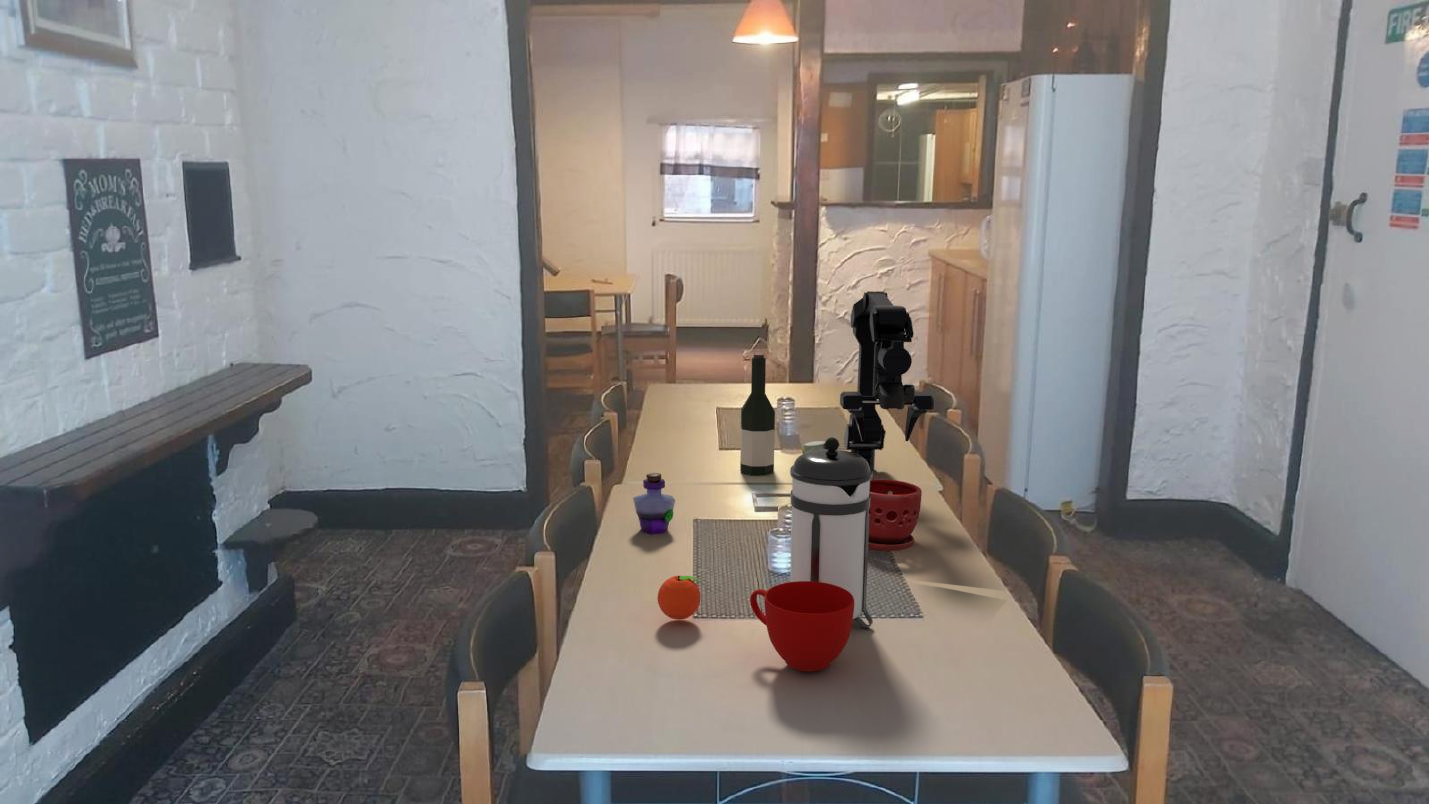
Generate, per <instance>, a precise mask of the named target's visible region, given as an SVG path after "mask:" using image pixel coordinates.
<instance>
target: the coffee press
mask: <svg viewBox="0 0 1429 804" xmlns="http://www.w3.org/2000/svg"><path fill="white" fill-rule="evenodd" d="M824 445H825V447H826V449H823V450H814V451H810V452H807V453H804V454H801V455H799V456H798V457H796V459H795V461H794V463H793V465H791V467H790V468H789V469H790V470H789V474H790V477H791V478H792V482H791V483H792V484H791V485H792V487H791V491H790V493H791V496H790V506H792V510H791V519H790V521H791V522H790V524H791V525H790V528H791V529H790V531H791V532H790V565H789V567H790V571H789V573H790V574H789V576H790V577H789V582H796V581H813V582H822V583H828V584H832V585H836V586H839V587H841V588H843V589H845V590H847V591H848V592H850V593H851V594H852V595H853V598H854V613H853V621H856V622H857V623H858V624H859V625H860V626H861V627H862V628H863V629H865V630H866V629H870V627H871V626H872V625H873V623H874V621H873V618H872V617H871V615H870V613H869V612H868V608H867V592H868V591H867V589H868V588H867V587H868V563H869V562H868V560H869V558H868V557H869V548H868V537H869V508H870V501H871V494H870V492H869V488H870V480H871V479H873V477H874V475H873V472H874V471H872V470H871V469H870V468H869V464H868V462H867V461H866V460H865V459H864V458H863V457H861V456H860V455H858V454H855V453H852V452H851V451H849V450H842V449H839V446H840V442H839V440H838V439H837V438H836V437H833V436H832V437H829V438H827V439H826V440H825V444H824ZM862 613H863V615H864V617H865V619H866V620H867V622H868V624H867V623H866V622H865V621H864V620H863V619H862V618H861V617H860V616H861V615H862Z"/></svg>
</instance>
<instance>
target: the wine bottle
mask: <svg viewBox="0 0 1429 804" xmlns="http://www.w3.org/2000/svg"><path fill="white" fill-rule="evenodd" d="M766 361H767V358H766V357H765V354H764V353H759V352H758V353H753V356H751V379H750V380H751V387H750V390H751V391H750V393H749V396H748V397H747V399H746V401H745V402H744V404H742V407H741V408H740V456H739V457H740V474H742V475H747V476H751V477H756V476H757V477H758V476H759V477H760V476H761V477H764V476H769V475H771V474H774V473H775V435H776V433H775V432H776V431H775V425H776V419H775V418H776V411H775V409H774V408H773V405H772V403H771V402H770V400H769V398H768V396H767V394H766V368H767V367H766V366H767V364H766Z"/></svg>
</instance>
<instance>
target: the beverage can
mask: <svg viewBox="0 0 1429 804" xmlns="http://www.w3.org/2000/svg"><path fill="white" fill-rule="evenodd" d="M825 442H826V440H813V441H808V442H805V443H803V448H802V450H801V451H802V452H801V453H802V454H804V453H807V452H810V451H814V450H823V449H826V447H825V445H824V444H825ZM802 454H801V455H802Z"/></svg>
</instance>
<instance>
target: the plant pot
mask: <svg viewBox="0 0 1429 804" xmlns="http://www.w3.org/2000/svg"><path fill="white" fill-rule="evenodd" d="M869 492H870V494H871V501H870V508H869V537H868V550H869V549H870V550H876V551H887V552H888V551H889V552H890V551H892V552H893V551H900V550H904V549H907V548H910V547H911V546H912V545H913V544H914V542H915V538H914V536H913V535H912V534H913V532H914V530H915V528H916V526H917V523H918V519H919V516H920V513H921V512H920V510H921V505H922V497H923V496H922V494H923V493H922V492H923V491H922V488H920V487H919V486H917V485H915V484H914V483H912V482H911V483H909V482H906V481H902V480H897V479H895V480H894V479H885V478H883V479H881V478H878V479H877V478H874V479H873V478H872V479H871V480H870V488H869ZM889 492H890V493H893V494H892V495H888V493H889Z"/></svg>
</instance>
